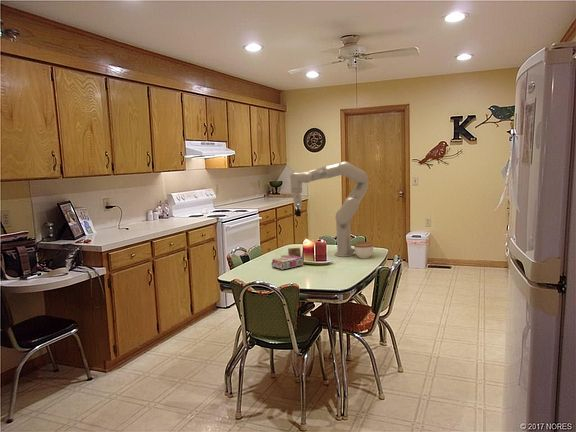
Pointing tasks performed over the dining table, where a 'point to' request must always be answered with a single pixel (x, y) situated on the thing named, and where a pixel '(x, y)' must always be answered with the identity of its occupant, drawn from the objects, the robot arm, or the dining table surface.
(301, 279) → the dining table surface
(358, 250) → the lidded bowl
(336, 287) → the dining table surface
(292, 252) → the turner
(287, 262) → the candy bar box
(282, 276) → the dining table surface
